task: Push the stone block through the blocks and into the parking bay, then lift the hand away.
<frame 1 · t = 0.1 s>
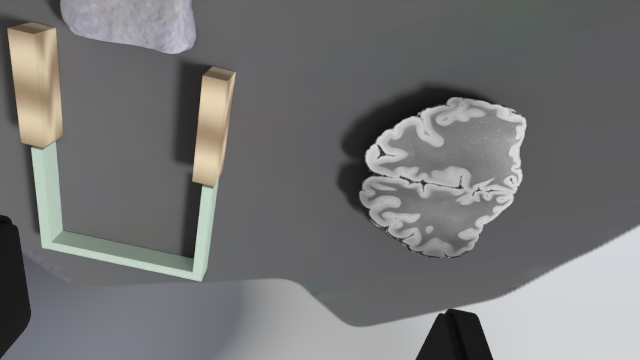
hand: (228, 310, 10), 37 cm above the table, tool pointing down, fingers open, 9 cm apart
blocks: (134, 102, 46), on the table
brain slice: (432, 171, 49), on the table
parking bay: (132, 207, 53), on the table
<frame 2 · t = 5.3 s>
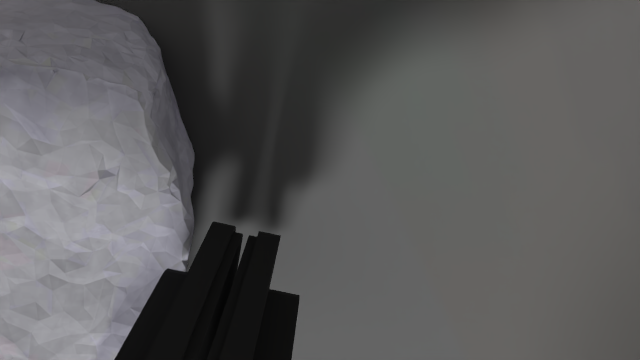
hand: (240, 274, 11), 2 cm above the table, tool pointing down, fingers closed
stone block: (47, 191, 12), on the table
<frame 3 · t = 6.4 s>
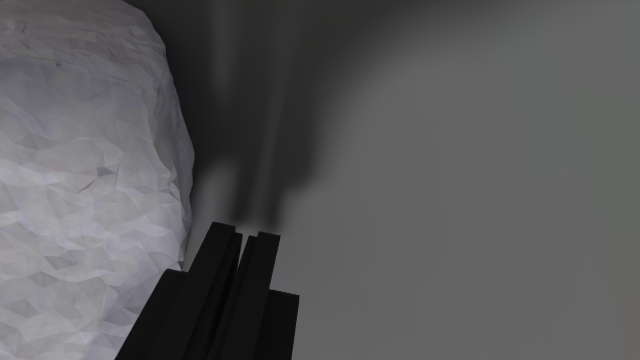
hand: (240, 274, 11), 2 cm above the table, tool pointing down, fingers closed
stone block: (39, 184, 12), on the table, touching gripper
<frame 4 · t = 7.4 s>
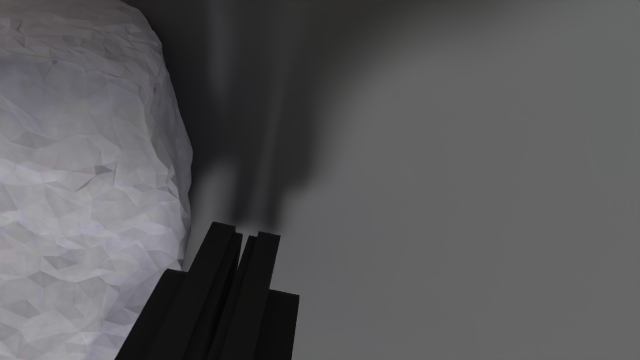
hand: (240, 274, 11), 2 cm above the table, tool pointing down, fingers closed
stone block: (39, 185, 12), on the table, touching gripper
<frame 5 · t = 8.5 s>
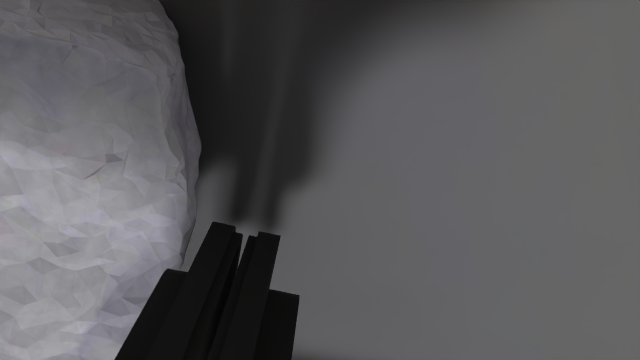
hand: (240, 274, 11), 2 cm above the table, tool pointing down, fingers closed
stone block: (38, 169, 12), on the table, touching gripper
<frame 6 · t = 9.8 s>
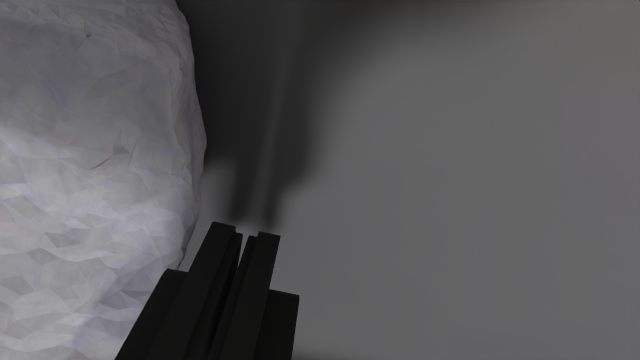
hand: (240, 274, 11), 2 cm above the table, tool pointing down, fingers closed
stone block: (38, 158, 12), on the table, touching gripper
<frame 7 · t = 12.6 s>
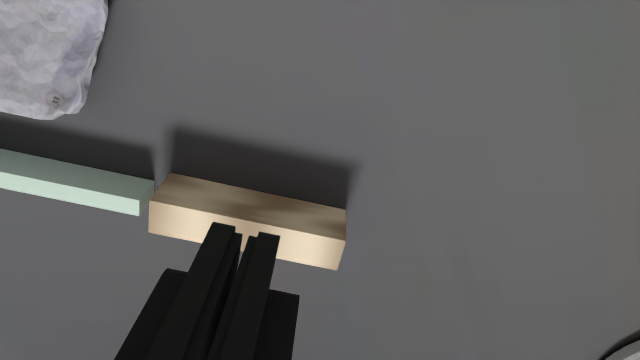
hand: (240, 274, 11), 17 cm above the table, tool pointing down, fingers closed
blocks: (279, 76, 25), on the table
parking bay: (34, 20, 24), on the table
stone block: (35, 1, 24), on the table
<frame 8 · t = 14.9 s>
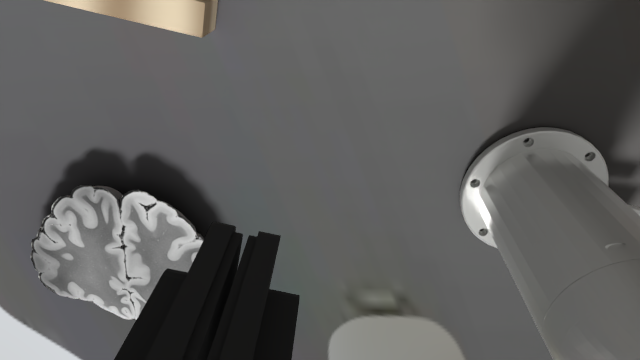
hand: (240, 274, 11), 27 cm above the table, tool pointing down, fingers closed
brain slice: (139, 240, 46), on the table
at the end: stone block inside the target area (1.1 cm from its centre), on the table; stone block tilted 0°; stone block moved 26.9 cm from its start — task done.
